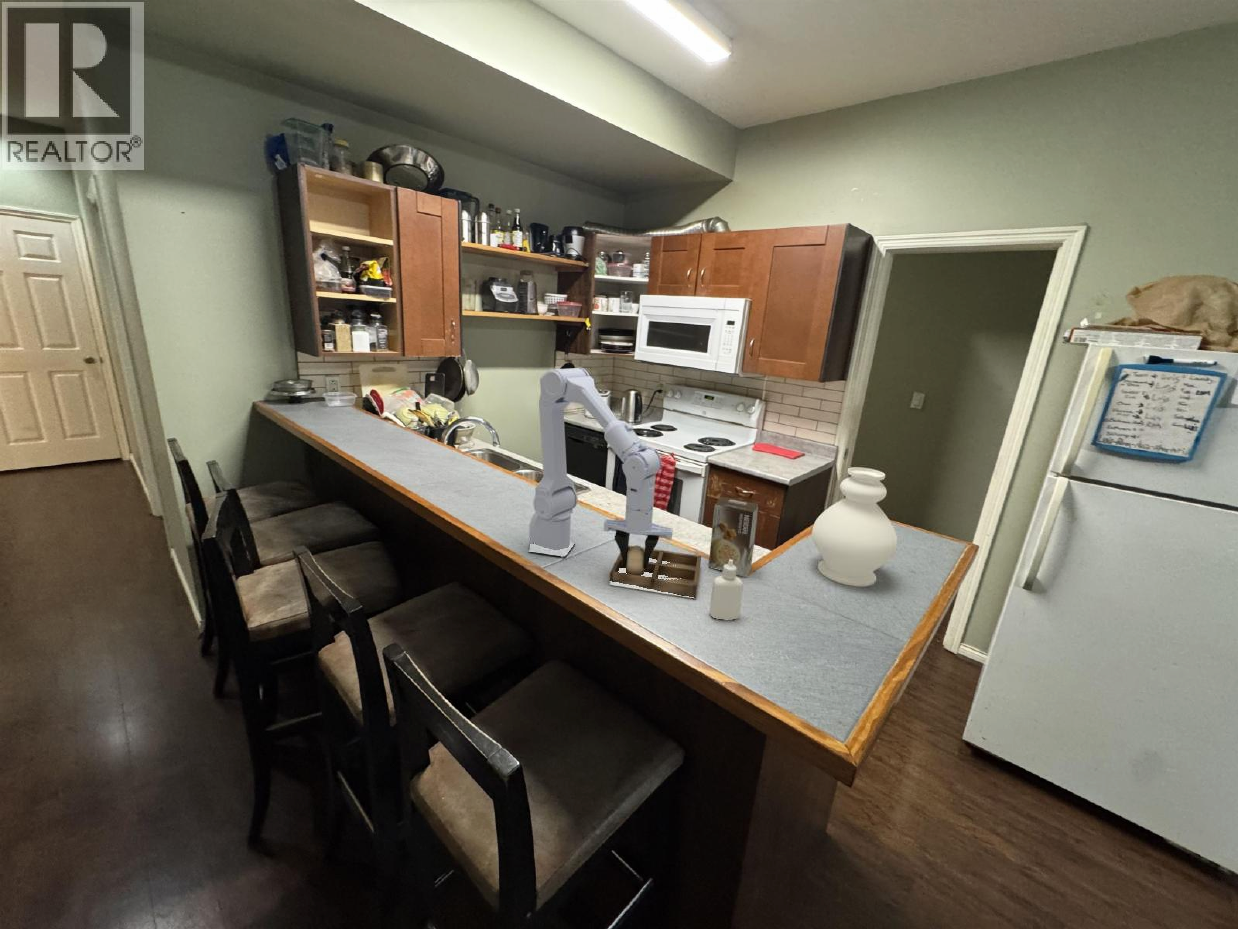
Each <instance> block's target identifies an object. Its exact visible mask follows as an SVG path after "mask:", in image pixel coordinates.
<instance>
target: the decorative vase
mask: <svg viewBox="0 0 1238 929" xmlns="http://www.w3.org/2000/svg"><path fill="white" fill-rule="evenodd" d="M847 474H848V475H850V476H848V477H846V478H844V479H843V480H842V481H841V483H840V485H839V489H840V491H841V493H842V495H844V496H845V497H844V498H842V499H840V500H838V501H836V502H835V503H833V504H832V505H831V506H830V505H829V507H828V508H826V509H825V510H824V511H823V512H821V514H820V515H819V516H818V517H817V518H816V520H815V521H814V524H813V526H812V530H811V535H812V536H811V537H812V541H813V544H814V546H815V547H816V549H817V551H818V553H819V554H820V556H821V557H822V560H821V561H819V562H818V565H817V568H818V571H819V572H820V574H822V575H823V576H824V577H826V578H827V579H829V580H831V581H834V582H835V583H838V584H842V585H846V586H850V587H861V588H862V587H864V588H865V587H868V586H869V587H870V586H872V585H874V584H875V583H876V581H877V575H876V573H875V572H874V571H876V570H878V569H879V568H880V567H883V566H884V565H886V564H887V563H888V562H889V561H891V560H892V559H893V557H895V555H896V552H897V548H898V536H897V533H896V530H895V528H894V526H893V524H892V523H891V520H890V519H889V518H888V516H887V514H885V512H884V511H883V510H882V508H881V507H880V506H879V504H878V503H879V502H881V501H882V500H884V499H885V498H886V497H887V491H888V490H887V488H886V487H885V485H884V483H882V482H881V481H883V480H885V479H886V474H885V473H884V472H883V471H880V470H878V469H873V468H868V467H858V466H854V467H852V466H851V467H848V468H847Z"/></svg>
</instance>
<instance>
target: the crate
mask: <svg viewBox="0 0 1238 929" xmlns="http://www.w3.org/2000/svg"><path fill="white" fill-rule="evenodd" d="M632 546H633V545H628V550H629V548H630V547H632ZM641 547H642V546H641ZM642 548H643V549H644V551H645V547H642ZM619 552H620V551H619ZM650 558H652V559H656V560H657V562H656V563H653V562H648V566H647V568H645V569H644V572H649V573H653V574H652V577H645V576H638V575H632V574H626V573H619V572H618V571H619V568H626V565H623V561H622V556H621V552H620V553H619V554H618V556H617V558H616V560H615V562H614V564H613V566H612V568H611V570H610V571H609V581H612V582H619V583H623V584H629V585H636V586H639V587H643V588H647V589H654V590H657V591H661V592H668V593H673V594H677V595H681V596H689V597H694V598H696V599H697V592H698V587H699V586H698V585H699V580H700V571H701V562H702V555H698V554H697V555H696V554H689V553H682V552H675V551H670V550H665V549H664V550H661V549H655V548H654V549H653V551H652V553H651V555H650ZM662 561H667V562H670V563H667V564H662ZM673 565H674V566H673ZM675 565H676V566H675ZM658 575H665V576H668V577H666V578H677V579H678V580H677V579H674V580H673V579H671V580H669V579H668V580H667V579H666V580H664V579H658ZM661 578H662V577H661ZM664 578H665V577H664ZM680 578H681V579H680ZM698 579H699V580H698Z"/></svg>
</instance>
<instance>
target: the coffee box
mask: <svg viewBox="0 0 1238 929" xmlns="http://www.w3.org/2000/svg"><path fill="white" fill-rule="evenodd" d="M759 506H760V504H759V503H756V502H755V503H754V502H751V501H745V500H741V499H737V498H736V499H735V498H732V497H731V498H730V497H725V496H721V497H720V498H719V499H718V500H717V501H716V503H715V504H714V508H713V516H712V527H711V528H712V529H711V538H710V547H709V558H708V568H709V567H712V568H717V569H720V570H723V567H724V565H726V564H728V562H729V560H730V559H731V560H733V565H734V566H736V568H737V569H736V576H738V575H741V576H740V577H742V576H743V577H742V578H747V577H748V575H749V573H750V571H751V569H752V564H753V557H754V556H753V555H754V549H755V548H754V547H755V540H756V530H757V523H758V516H759V508H760V507H759ZM712 568H711V569H712Z"/></svg>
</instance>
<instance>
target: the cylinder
mask: <svg viewBox="0 0 1238 929" xmlns="http://www.w3.org/2000/svg"><path fill="white" fill-rule="evenodd" d="M631 546H632V547H630V548H629V550H628V552H627V563H626V573H627V574H632V575H638V576H641V575H643V574H644V569H645V568H643V565H644V558H645V551H644V549H643V548H644V547H643V548H642V546H641V545H631Z"/></svg>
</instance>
